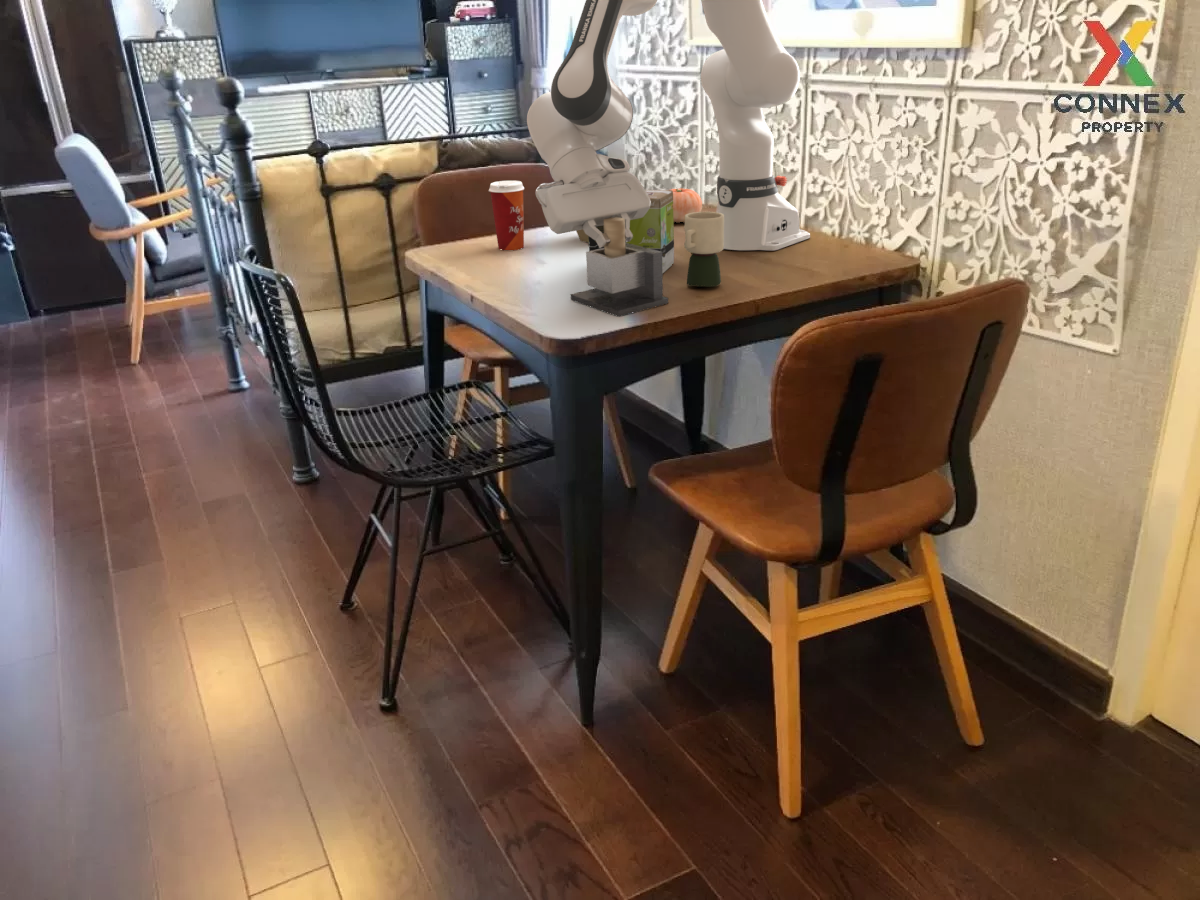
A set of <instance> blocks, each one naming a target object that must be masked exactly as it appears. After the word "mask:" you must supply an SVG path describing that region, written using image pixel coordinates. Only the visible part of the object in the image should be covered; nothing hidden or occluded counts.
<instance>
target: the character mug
mask: <svg viewBox="0 0 1200 900" xmlns="http://www.w3.org/2000/svg"><path fill="white" fill-rule="evenodd" d="M683 229H684V235H685V238H684V240H685V241H684V245H683V246H684V248H685V250H686V252H689V253H690V254H691V255H690V257H689V262H688V268H687V273H686V275H687V276H686V285H687V286H693V287H694V286H695V287H697V288H698V287H701V288H702V287H708V288H709V287H717V286H719V285H721V283H722V278H721V266H720V260H719V259H720V257H719V256H718V254H717V253H720V252H722V251H723V250H724V249H723V247H724V214H722V213H718V212H716V211H700V212H694V213H689V214H686V215H685V222H684V228H683Z"/></svg>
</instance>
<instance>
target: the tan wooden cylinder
mask: <svg viewBox="0 0 1200 900" xmlns="http://www.w3.org/2000/svg"><path fill="white" fill-rule="evenodd" d="M604 233H606V234H607V235H608V238H610V243H609V244H608V246H606V247H605V255H606V256H609V257H615V256H620V255H625V254H626V251H625V219H624V218H606V219H604Z"/></svg>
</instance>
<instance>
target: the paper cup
mask: <svg viewBox="0 0 1200 900" xmlns="http://www.w3.org/2000/svg"><path fill="white" fill-rule="evenodd" d="M524 190H525V187H524V185H523V182H522V181H520V180H499V181H498V180H497V181H494V182H491V183H490V185H489V189H488V192H490V198H491V199H490V200H491V206H492V213H493V219H494V221H493V222H494V227H495V235H496V241H497V247H498V250H500V249H502V250H501V251H504V250H513V251H519V250H522V249H524V247H525V246H524V243H525V240H524V239H525V237H524V236H525V234H524V233H525V229H524V228H525V227H524V222H525V221H524V219H525V218H524ZM521 248H522V249H521ZM518 249H519V250H518Z"/></svg>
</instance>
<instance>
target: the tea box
mask: <svg viewBox="0 0 1200 900" xmlns="http://www.w3.org/2000/svg"><path fill="white" fill-rule="evenodd" d="M645 191H646V193H647V194H648V196H649V198H650V201H651V205H650V208H649V210H648V211H647V213H646V214H645V215H644V217H642V218H638V219H633V220H630V228H629V229H630V231H631V233H632V234H633V238H632V239H631V241H630V242H626V243H630V244H634V245H637V246H641V247H645V248H649V249H653V250H657V251H661V252H662V271H663V274H664V273H666V271H668V270H669V269H670V268H671V267H672V266H673V265H672V264H674V263H675V232H674V231H675V227H674V226H675V225H674V223H675V222H674V219H673V190H670V189H654V190H653V189H645ZM596 228H597V229H598V230H599V231H601V232H602V233H604V225H602V226H597V227H596ZM588 241H589V243H588V251H592V250H597V249H601V248H605V247H601V248H600V247H599V246H598V244H597V242H596V240H594V239H592V238H591V237H589V236H588Z"/></svg>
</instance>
